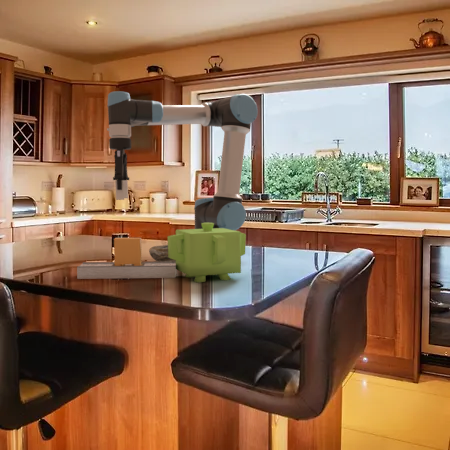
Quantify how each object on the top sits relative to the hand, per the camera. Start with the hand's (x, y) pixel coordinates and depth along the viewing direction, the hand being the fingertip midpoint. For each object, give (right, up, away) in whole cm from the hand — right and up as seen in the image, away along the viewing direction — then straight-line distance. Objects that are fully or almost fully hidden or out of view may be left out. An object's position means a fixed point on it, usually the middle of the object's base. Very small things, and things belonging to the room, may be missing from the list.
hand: (122, 199), depth 168 cm
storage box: (+31, -26, -19) cm, 44 cm away
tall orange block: (+5, -25, -17) cm, 31 cm away
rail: (+5, -25, -17) cm, 31 cm away
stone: (+15, -23, +11) cm, 30 cm away
